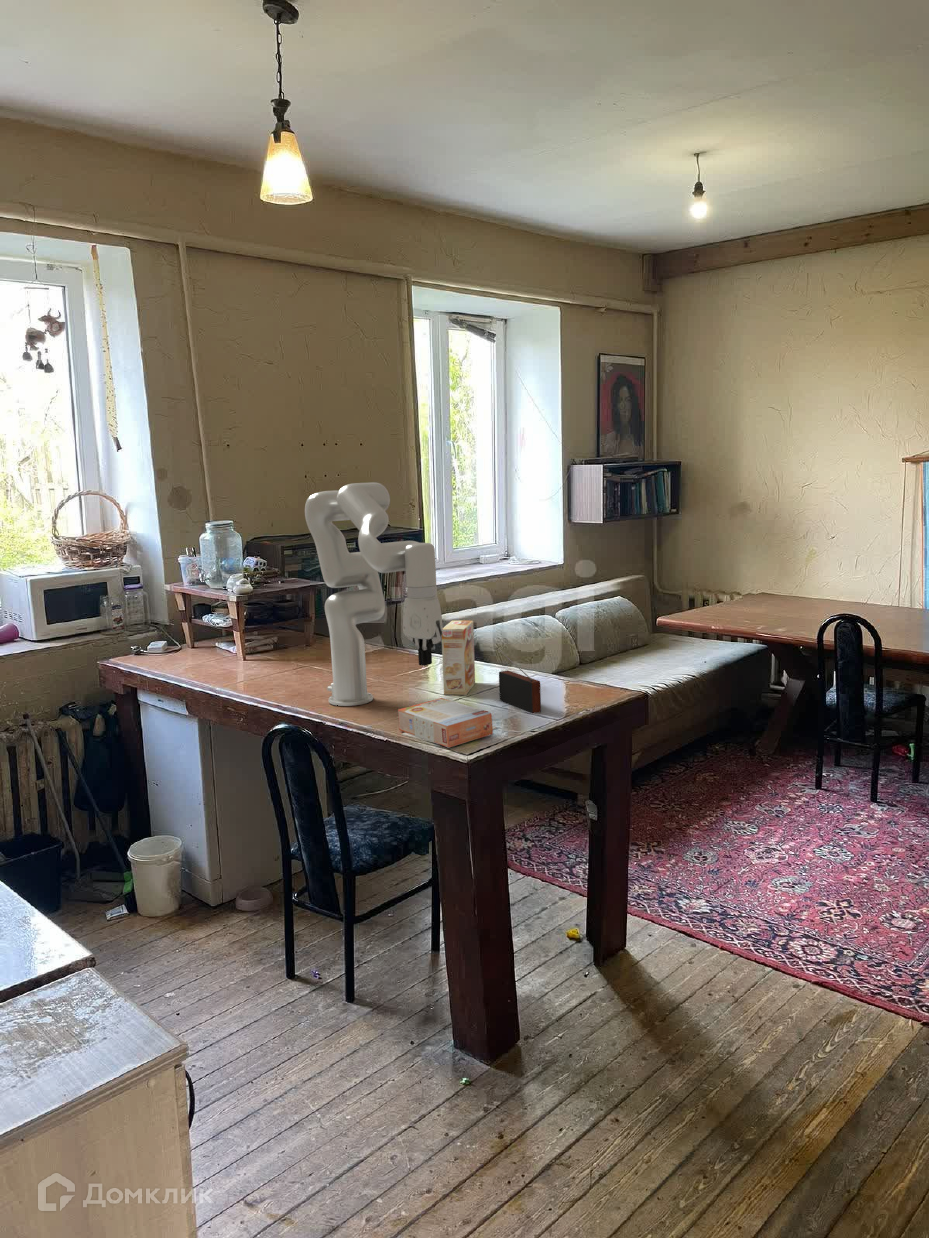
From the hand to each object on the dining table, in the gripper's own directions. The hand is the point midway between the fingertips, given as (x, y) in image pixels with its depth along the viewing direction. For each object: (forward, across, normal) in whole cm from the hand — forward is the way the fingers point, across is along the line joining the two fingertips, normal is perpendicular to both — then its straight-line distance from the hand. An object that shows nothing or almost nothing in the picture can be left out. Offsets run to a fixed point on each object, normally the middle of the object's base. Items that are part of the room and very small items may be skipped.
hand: (425, 664), depth 231 cm
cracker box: (+13, -2, 0) cm, 13 cm away
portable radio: (+17, +6, +29) cm, 34 cm away
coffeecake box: (+16, -20, +34) cm, 43 cm away
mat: (+16, +7, 0) cm, 18 cm away
